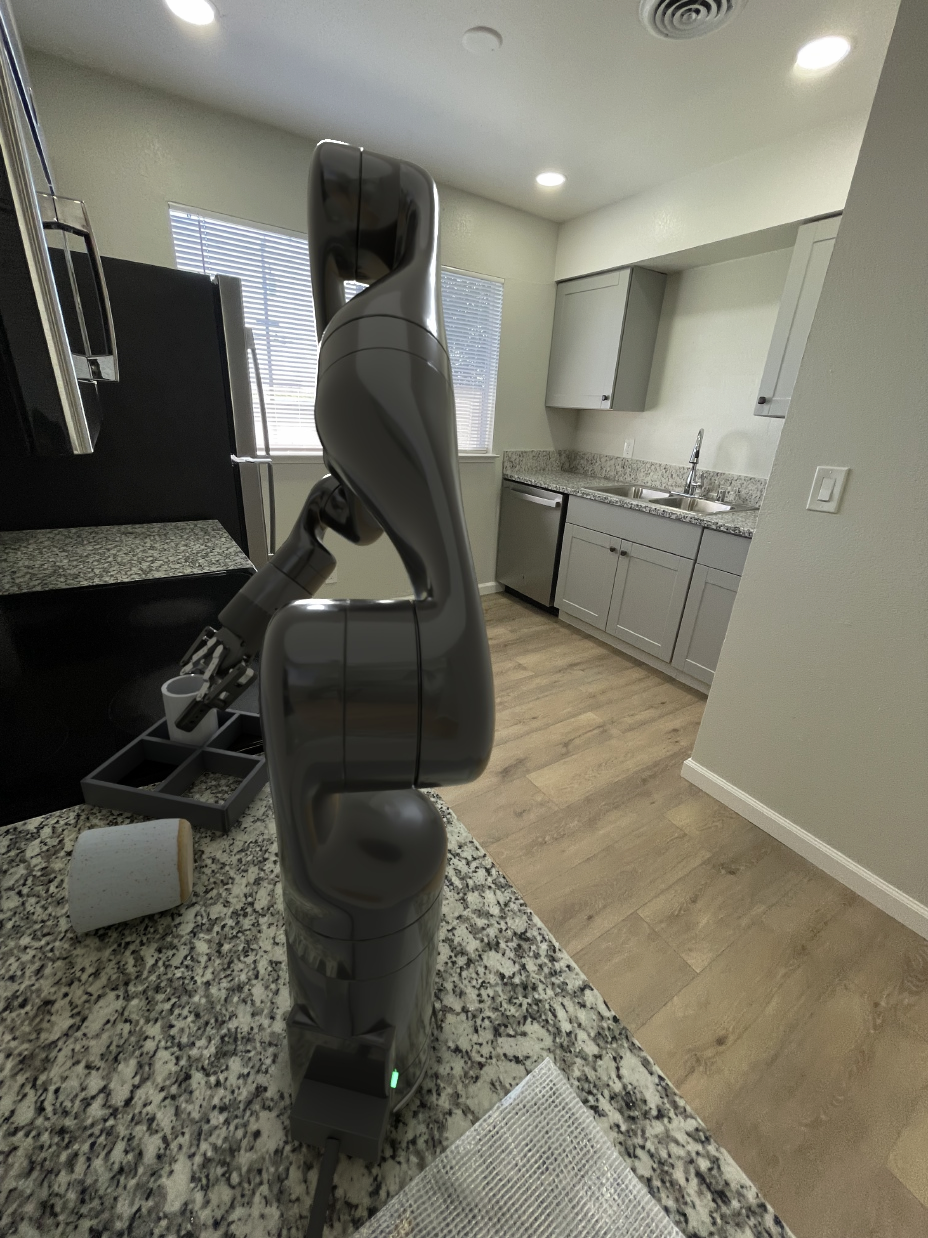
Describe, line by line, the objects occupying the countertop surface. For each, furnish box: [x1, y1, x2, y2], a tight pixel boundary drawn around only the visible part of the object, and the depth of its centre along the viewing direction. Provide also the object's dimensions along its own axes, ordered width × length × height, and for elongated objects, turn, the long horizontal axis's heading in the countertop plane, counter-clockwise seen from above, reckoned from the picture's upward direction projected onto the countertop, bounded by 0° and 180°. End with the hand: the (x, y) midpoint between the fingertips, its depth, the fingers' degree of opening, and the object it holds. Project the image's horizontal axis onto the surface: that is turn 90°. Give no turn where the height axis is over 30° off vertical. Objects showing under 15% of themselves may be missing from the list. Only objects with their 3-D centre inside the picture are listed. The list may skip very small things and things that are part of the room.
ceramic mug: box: [67, 819, 194, 934], centre depth 44 cm, size 11×8×8 cm
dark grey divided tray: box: [79, 708, 269, 833], centre depth 60 cm, size 16×16×3 cm
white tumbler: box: [160, 674, 219, 746], centre depth 62 cm, size 5×5×8 cm
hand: (175, 716), depth 61 cm, fingers closed on white tumbler, 5 cm apart
